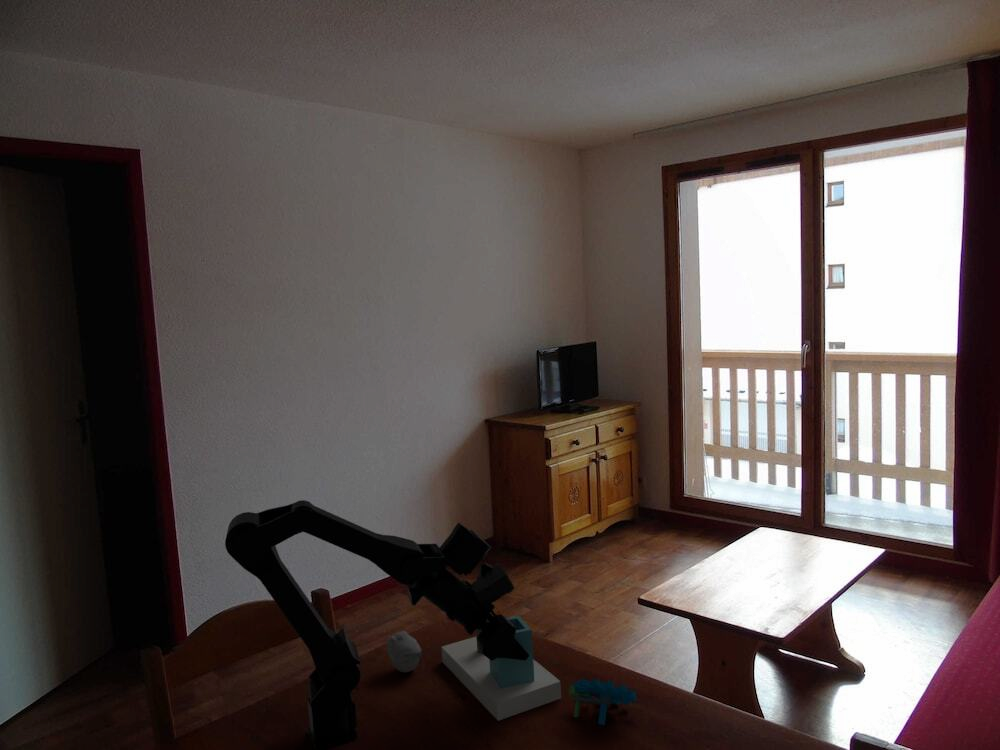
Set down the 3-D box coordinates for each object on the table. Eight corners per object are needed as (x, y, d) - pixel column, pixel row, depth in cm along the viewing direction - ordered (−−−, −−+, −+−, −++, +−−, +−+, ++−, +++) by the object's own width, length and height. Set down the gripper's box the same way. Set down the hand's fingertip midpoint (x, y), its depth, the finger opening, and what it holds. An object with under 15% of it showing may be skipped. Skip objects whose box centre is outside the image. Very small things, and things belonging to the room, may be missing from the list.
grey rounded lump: (403, 658, 137) (401, 623, 137) (430, 668, 133) (428, 632, 132) (380, 672, 133) (377, 636, 132) (407, 682, 128) (404, 645, 128)
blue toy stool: (646, 698, 116) (624, 676, 109) (642, 737, 112) (620, 717, 106) (583, 693, 121) (559, 672, 115) (578, 730, 118) (553, 711, 111)
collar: (500, 688, 119) (497, 636, 118) (490, 671, 124) (486, 622, 124) (534, 680, 121) (531, 629, 120) (522, 664, 126) (519, 615, 125)
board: (498, 720, 115) (495, 673, 114) (442, 661, 135) (439, 621, 134) (561, 698, 120) (558, 652, 119) (498, 644, 141) (496, 605, 140)
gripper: (500, 574, 110) (569, 629, 115) (467, 539, 128) (528, 588, 132) (453, 633, 109) (525, 687, 113) (427, 590, 126) (490, 637, 131)
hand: (517, 645), depth 122 cm, fingers open, 9 cm apart
